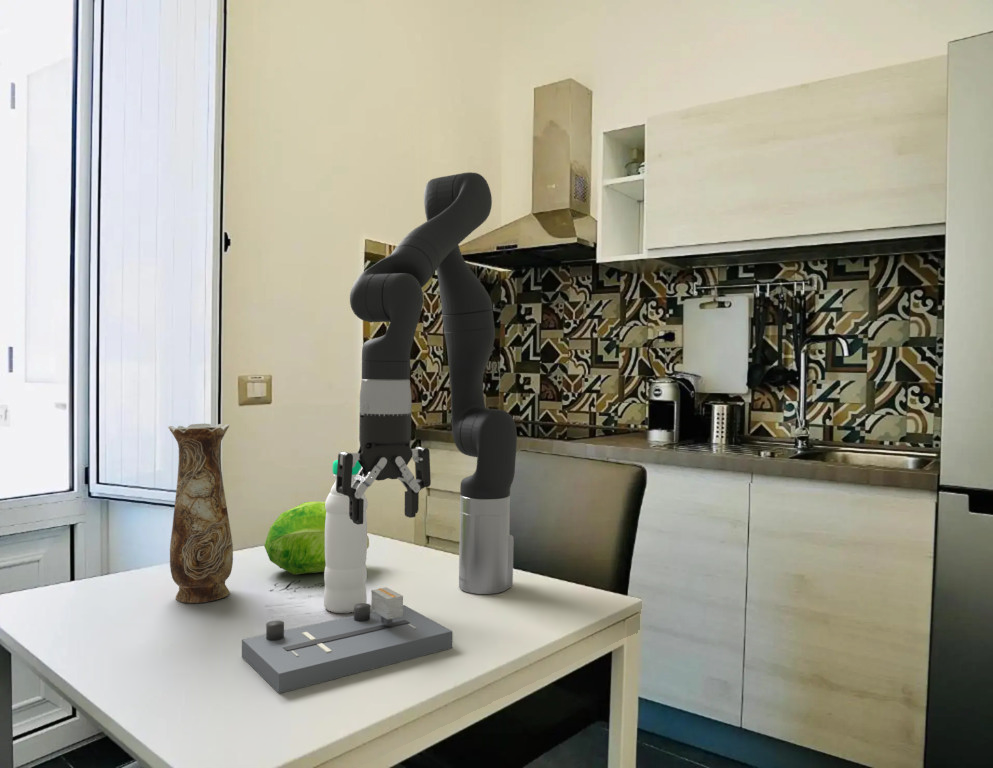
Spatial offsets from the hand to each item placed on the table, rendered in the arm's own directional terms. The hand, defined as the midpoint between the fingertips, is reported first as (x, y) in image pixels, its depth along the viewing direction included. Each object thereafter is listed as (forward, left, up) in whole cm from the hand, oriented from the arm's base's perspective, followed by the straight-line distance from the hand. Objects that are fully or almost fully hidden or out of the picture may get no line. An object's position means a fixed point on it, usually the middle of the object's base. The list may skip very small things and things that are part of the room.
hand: (384, 520), depth 109 cm
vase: (+16, -37, -18) cm, 45 cm away
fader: (0, +1, -15) cm, 15 cm away
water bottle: (-2, -17, -18) cm, 26 cm away
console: (+6, +1, -18) cm, 19 cm away
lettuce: (-7, -40, -18) cm, 45 cm away
